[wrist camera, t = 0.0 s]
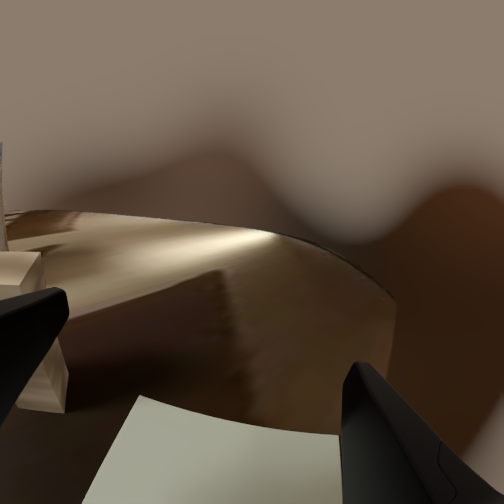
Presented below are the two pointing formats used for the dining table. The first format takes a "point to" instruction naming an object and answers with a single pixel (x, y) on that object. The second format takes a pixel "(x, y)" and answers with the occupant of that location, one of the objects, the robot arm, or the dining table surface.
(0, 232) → the cracker box
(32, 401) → the birch block
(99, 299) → the dining table surface
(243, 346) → the dining table surface
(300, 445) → the sage mat
